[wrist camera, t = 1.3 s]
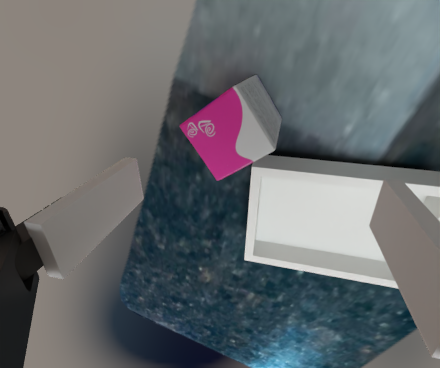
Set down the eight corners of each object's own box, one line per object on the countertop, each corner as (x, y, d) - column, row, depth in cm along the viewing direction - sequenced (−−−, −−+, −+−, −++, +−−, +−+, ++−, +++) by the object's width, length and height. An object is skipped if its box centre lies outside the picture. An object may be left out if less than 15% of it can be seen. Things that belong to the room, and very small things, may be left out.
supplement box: (256, 71, 27) (237, 82, 17) (283, 118, 28) (280, 153, 19) (213, 101, 30) (176, 126, 20) (240, 143, 31) (218, 185, 21)
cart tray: (250, 231, 37) (244, 260, 32) (257, 148, 31) (251, 166, 26) (393, 255, 33) (412, 291, 28) (434, 164, 27) (467, 189, 22)
